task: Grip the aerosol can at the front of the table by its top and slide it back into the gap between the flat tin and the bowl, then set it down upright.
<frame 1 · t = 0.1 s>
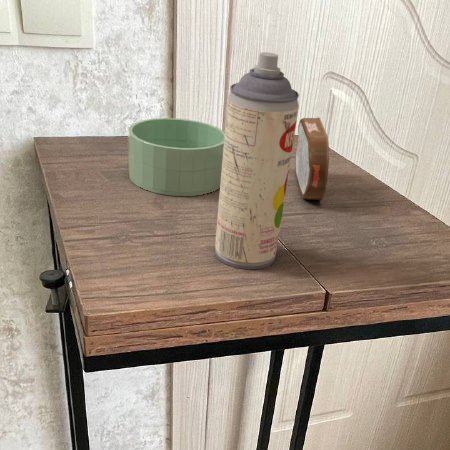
tin: (305, 189, 88), on the table
aerosol can: (244, 256, 70), on the table
bowl: (176, 178, 86), on the table
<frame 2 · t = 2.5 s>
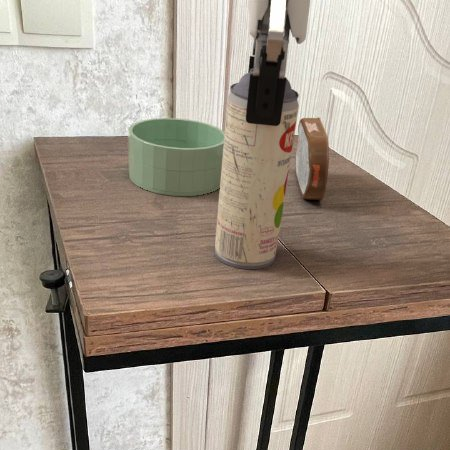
hand: (261, 110, 60), 15 cm above the table, tool pointing down, fingers closed on aerosol can, 6 cm apart
aerosol can: (244, 256, 70), on the table, touching gripper
everything else where it was.
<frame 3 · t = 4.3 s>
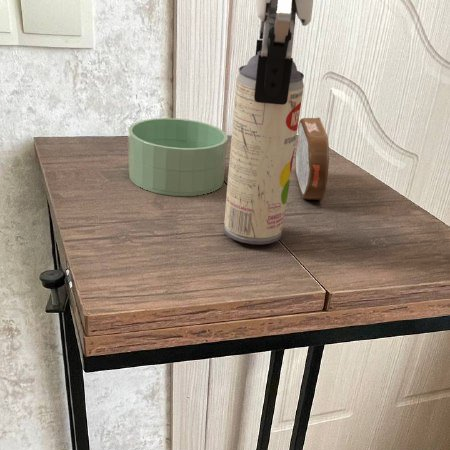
hand: (269, 91, 64), 16 cm above the table, tool pointing down, fingers closed on aerosol can, 6 cm apart
aerosol can: (252, 232, 73), point 1 cm above the table, touching gripper
everything else where it was.
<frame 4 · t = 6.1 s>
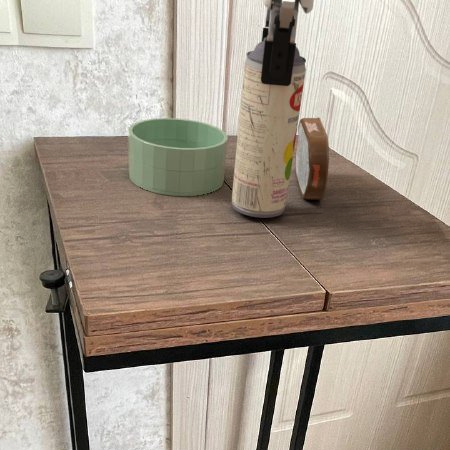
hand: (274, 74, 70), 16 cm above the table, tool pointing down, fingers closed on aerosol can, 6 cm apart
aerosol can: (258, 207, 79), point 1 cm above the table, touching gripper
everything else where it was.
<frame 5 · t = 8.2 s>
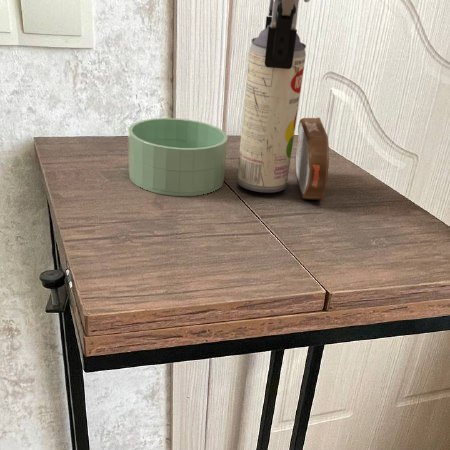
hand: (276, 59, 76), 16 cm above the table, tool pointing down, fingers closed on aerosol can, 6 cm apart
aerosol can: (261, 184, 86), point 1 cm above the table, touching gripper
everything else where it was.
when the fingers open (15 cm above the table, at t = 9.8 s): aerosol can stays where it is, on the table.
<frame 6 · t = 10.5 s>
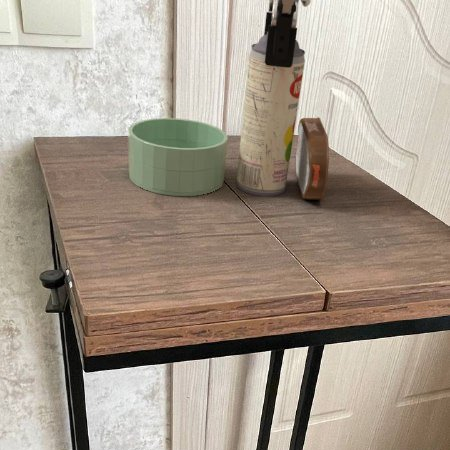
hand: (276, 57, 77), 16 cm above the table, tool pointing down, fingers open, 9 cm apart
aerosol can: (260, 187, 87), on the table
everything else where it was.
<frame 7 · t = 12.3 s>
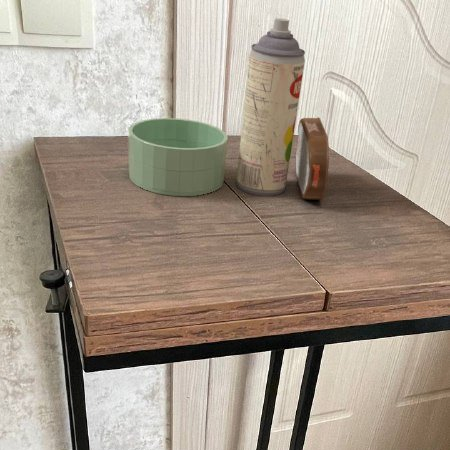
nothing on the table moved.
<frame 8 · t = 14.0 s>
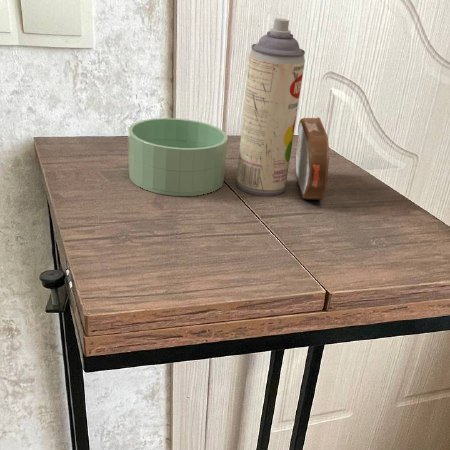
nothing on the table moved.
at the end: aerosol can inside the target area on the table beside the tin (0.7 cm from its centre), on the table; aerosol can tilted 0°; tin moved 0.2 cm from its start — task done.
